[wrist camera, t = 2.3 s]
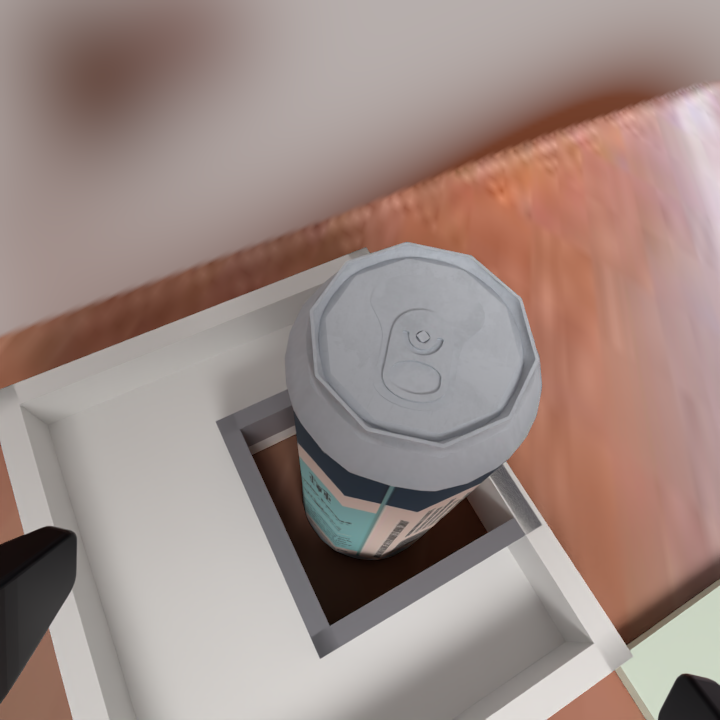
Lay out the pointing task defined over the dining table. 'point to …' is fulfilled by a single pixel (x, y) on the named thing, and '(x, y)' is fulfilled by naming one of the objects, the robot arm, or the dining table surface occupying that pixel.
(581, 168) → the dining table surface
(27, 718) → the dining table surface
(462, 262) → the beer can
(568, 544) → the dining table surface
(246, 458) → the shallow light grey tray
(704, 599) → the sage mat
